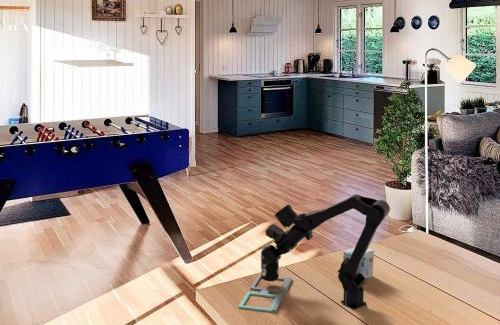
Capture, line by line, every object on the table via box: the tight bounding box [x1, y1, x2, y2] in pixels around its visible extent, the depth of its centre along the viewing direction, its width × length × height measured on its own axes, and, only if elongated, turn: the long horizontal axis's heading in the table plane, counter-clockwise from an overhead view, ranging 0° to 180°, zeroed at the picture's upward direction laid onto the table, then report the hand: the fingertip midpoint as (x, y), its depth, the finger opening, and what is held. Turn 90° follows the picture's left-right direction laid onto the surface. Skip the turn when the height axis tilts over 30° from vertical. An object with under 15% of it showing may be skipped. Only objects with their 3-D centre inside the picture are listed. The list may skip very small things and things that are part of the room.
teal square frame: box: [237, 291, 280, 313], centre depth 195 cm, size 12×12×1 cm
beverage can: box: [260, 245, 280, 282], centre depth 208 cm, size 7×7×12 cm
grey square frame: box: [249, 274, 289, 294], centre depth 209 cm, size 12×12×1 cm
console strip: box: [259, 277, 293, 313], centre depth 202 cm, size 27×9×1 cm, turn 164°
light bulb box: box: [342, 247, 375, 279], centre depth 215 cm, size 11×7×11 cm, turn 126°
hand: (266, 259), depth 208 cm, fingers closed on beverage can, 7 cm apart
